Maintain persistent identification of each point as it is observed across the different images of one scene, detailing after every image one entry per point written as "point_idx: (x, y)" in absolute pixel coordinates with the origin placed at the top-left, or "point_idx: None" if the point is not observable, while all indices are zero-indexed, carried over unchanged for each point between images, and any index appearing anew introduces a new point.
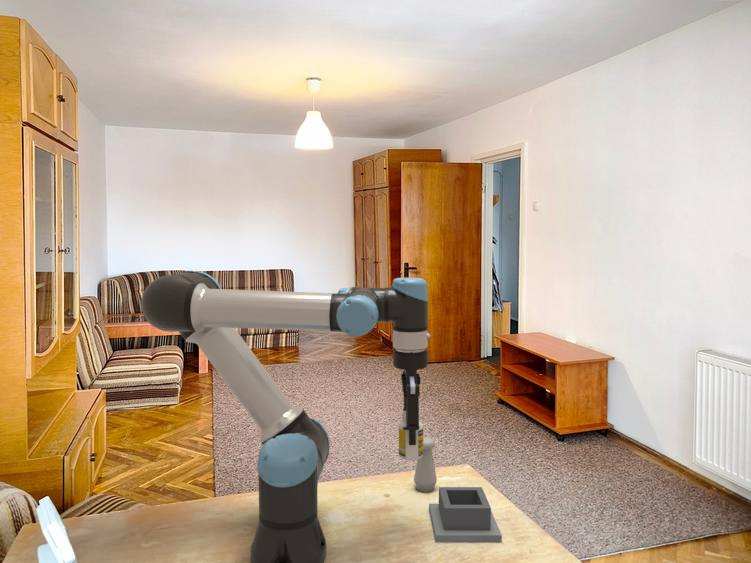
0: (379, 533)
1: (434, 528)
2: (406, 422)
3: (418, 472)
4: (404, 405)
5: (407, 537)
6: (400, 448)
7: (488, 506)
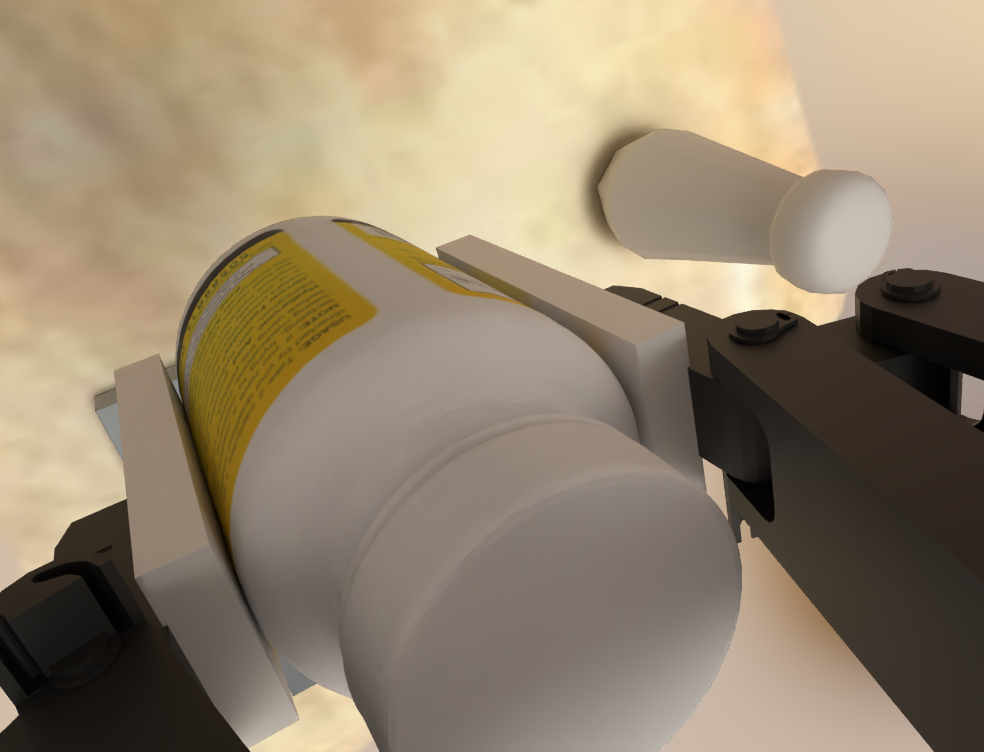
0: (33, 39)
1: (173, 380)
2: (105, 726)
3: (668, 171)
4: (889, 434)
5: (71, 232)
6: (226, 289)
7: (308, 679)
